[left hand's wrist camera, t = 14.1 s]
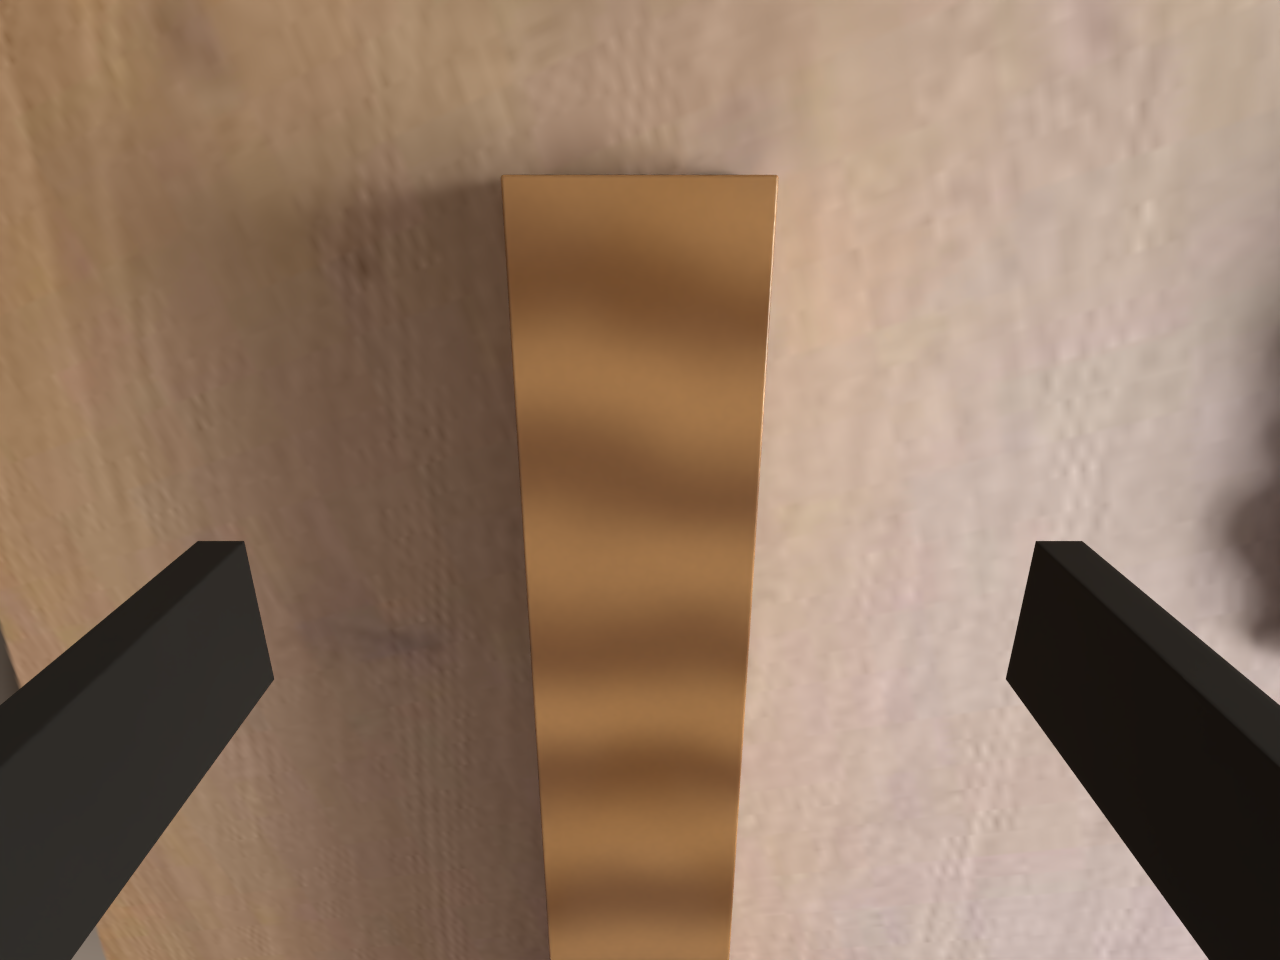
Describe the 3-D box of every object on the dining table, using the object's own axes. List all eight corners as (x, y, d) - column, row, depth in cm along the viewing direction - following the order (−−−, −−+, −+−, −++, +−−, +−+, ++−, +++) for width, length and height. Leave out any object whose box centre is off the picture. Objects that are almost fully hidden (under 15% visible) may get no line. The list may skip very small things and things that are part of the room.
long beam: (530, 175, 31) (500, 174, 24) (746, 175, 31) (779, 175, 24) (577, 1122, 55) (568, 1262, 48) (700, 1122, 55) (710, 1261, 48)
